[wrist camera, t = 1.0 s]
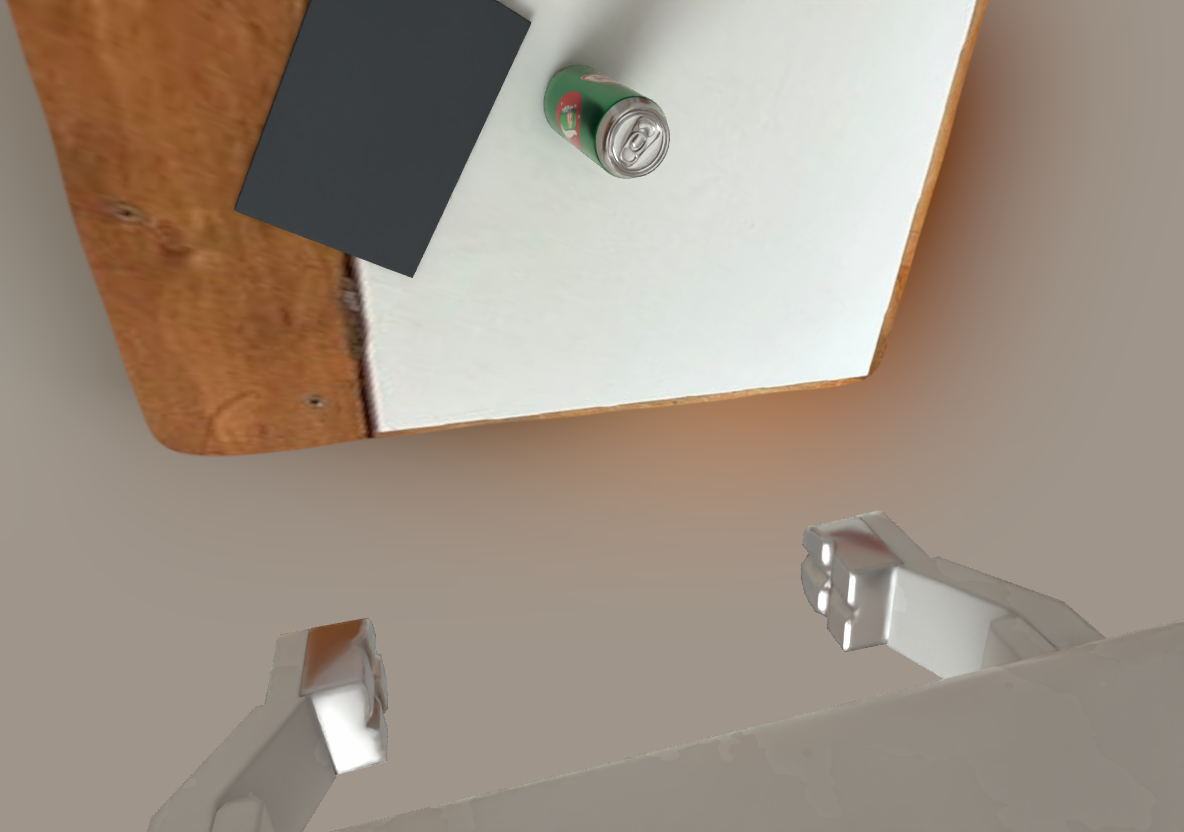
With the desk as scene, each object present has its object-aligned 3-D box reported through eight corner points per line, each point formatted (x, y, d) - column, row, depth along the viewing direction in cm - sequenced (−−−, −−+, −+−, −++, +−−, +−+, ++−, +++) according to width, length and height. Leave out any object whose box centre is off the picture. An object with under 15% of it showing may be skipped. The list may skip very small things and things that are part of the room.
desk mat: (344, -94, 46) (345, -94, 46) (529, 21, 53) (531, 22, 53) (234, 208, 53) (234, 211, 53) (411, 275, 60) (412, 278, 60)
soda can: (618, 90, 58) (690, 130, 49) (580, 149, 59) (642, 198, 50) (567, 48, 55) (633, 81, 46) (527, 111, 56) (584, 155, 47)
